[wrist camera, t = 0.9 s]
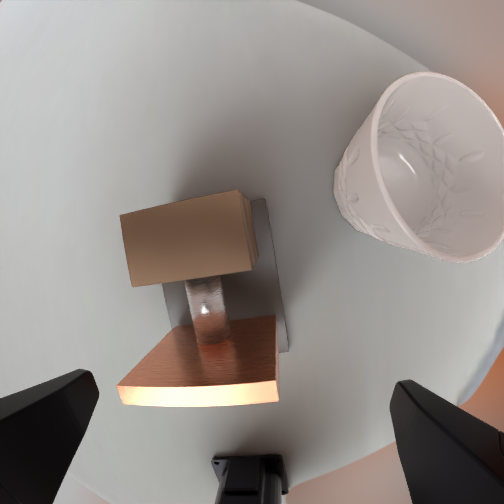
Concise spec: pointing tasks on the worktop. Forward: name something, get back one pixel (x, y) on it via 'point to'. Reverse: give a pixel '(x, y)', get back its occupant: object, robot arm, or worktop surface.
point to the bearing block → (207, 254)
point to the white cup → (427, 170)
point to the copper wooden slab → (208, 358)
